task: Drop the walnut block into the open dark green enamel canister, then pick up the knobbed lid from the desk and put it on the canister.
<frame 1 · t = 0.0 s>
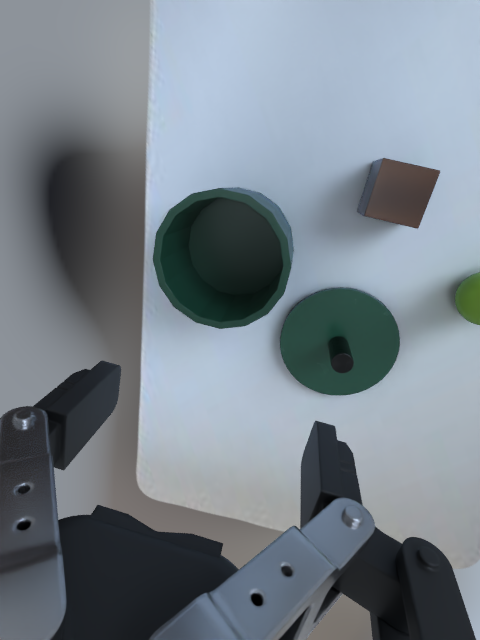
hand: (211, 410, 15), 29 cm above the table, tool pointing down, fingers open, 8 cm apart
block: (388, 192, 37), on the table
canister: (237, 246, 42), on the table
lid: (337, 343, 43), point 1 cm above the table
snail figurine: (472, 295, 40), on the table
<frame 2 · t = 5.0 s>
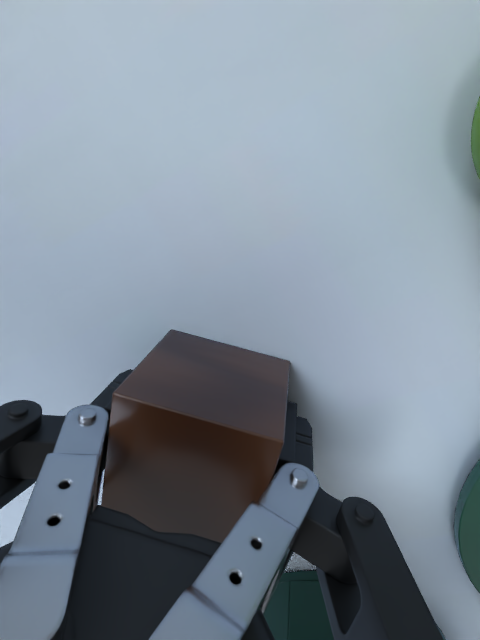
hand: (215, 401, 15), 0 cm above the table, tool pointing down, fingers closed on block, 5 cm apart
block: (218, 396, 16), on the table, touching gripper
when the fingers open (10 cm above the table, at t = 10.0 s): block drops 9 cm, resting on canister.
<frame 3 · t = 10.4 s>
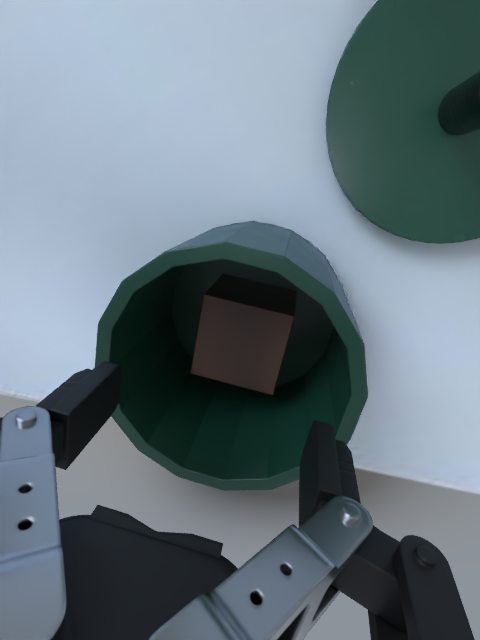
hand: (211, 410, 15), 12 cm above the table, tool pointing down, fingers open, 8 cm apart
block: (251, 316, 25), point 1 cm above the table, touching canister
canister: (251, 314, 26), on the table
lid: (457, 112, 19), point 1 cm above the table
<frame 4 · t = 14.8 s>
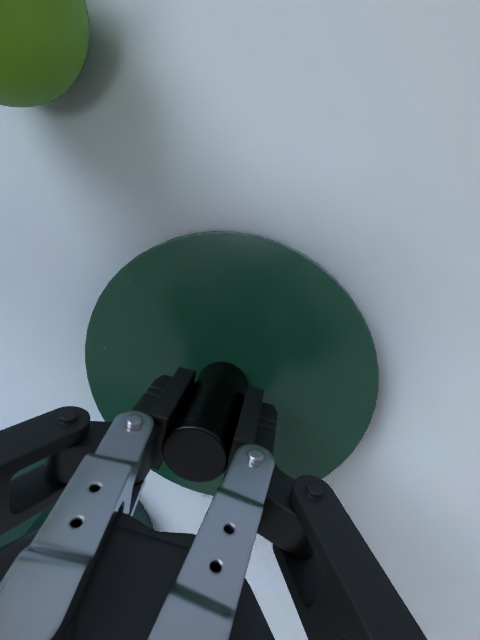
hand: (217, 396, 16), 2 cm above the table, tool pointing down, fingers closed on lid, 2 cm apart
canister: (63, 526, 23), on the table
lid: (225, 377, 17), point 1 cm above the table, touching gripper
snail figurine: (65, 40, 14), on the table
when the fingers open (11 cm above the table, at t = 22.8 s): lid stays where it is, resting on canister.
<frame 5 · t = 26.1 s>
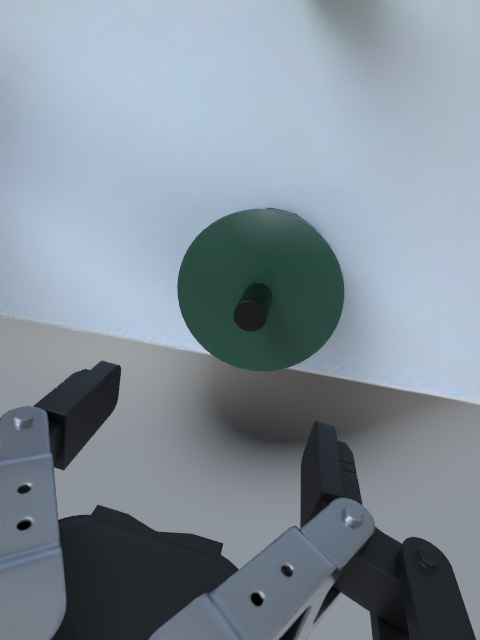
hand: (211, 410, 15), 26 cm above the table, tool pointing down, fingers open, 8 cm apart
lid: (258, 294, 30), point 9 cm above the table, touching canister
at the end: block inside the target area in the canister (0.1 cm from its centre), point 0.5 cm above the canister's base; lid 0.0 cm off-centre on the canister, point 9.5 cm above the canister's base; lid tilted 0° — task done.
